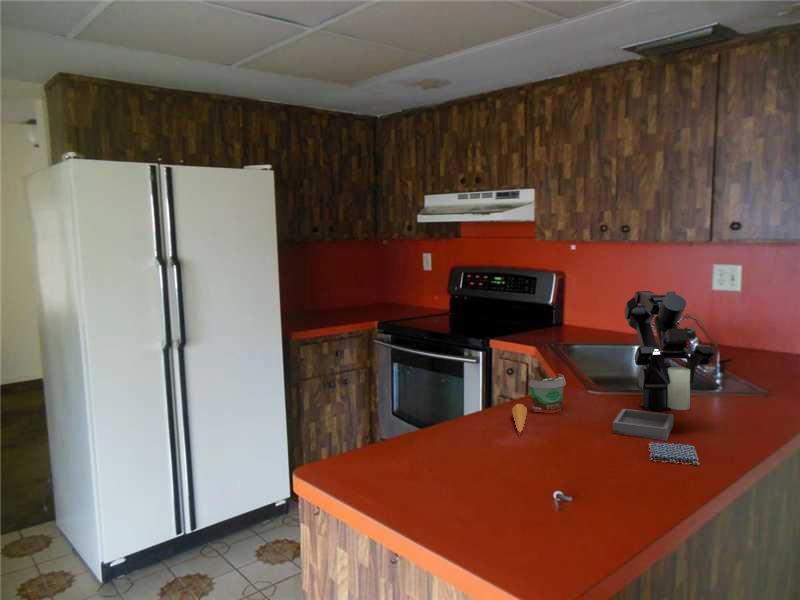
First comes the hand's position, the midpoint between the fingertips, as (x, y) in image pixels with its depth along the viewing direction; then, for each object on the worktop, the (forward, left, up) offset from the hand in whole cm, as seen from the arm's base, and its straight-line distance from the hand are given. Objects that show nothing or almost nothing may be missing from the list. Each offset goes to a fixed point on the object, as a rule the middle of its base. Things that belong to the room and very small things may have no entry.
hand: (680, 383), depth 151 cm
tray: (-7, +6, -13) cm, 16 cm away
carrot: (-38, +16, -14) cm, 43 cm away
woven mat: (-10, -12, -14) cm, 21 cm away
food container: (-24, +27, -14) cm, 38 cm away
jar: (0, +1, -7) cm, 7 cm away
